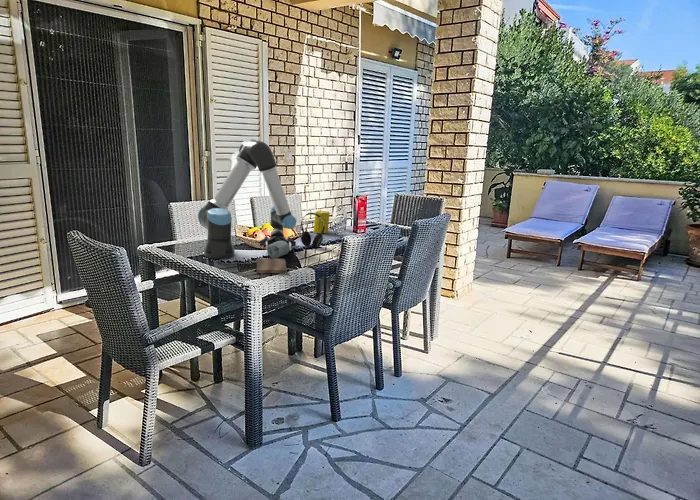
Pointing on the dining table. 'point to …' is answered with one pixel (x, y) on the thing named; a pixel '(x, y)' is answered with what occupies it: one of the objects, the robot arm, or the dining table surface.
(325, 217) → the food
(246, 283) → the dining table surface
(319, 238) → the headphones
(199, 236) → the dining table surface
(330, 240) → the dining table surface
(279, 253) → the grey rounded cylinder
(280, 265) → the stand
